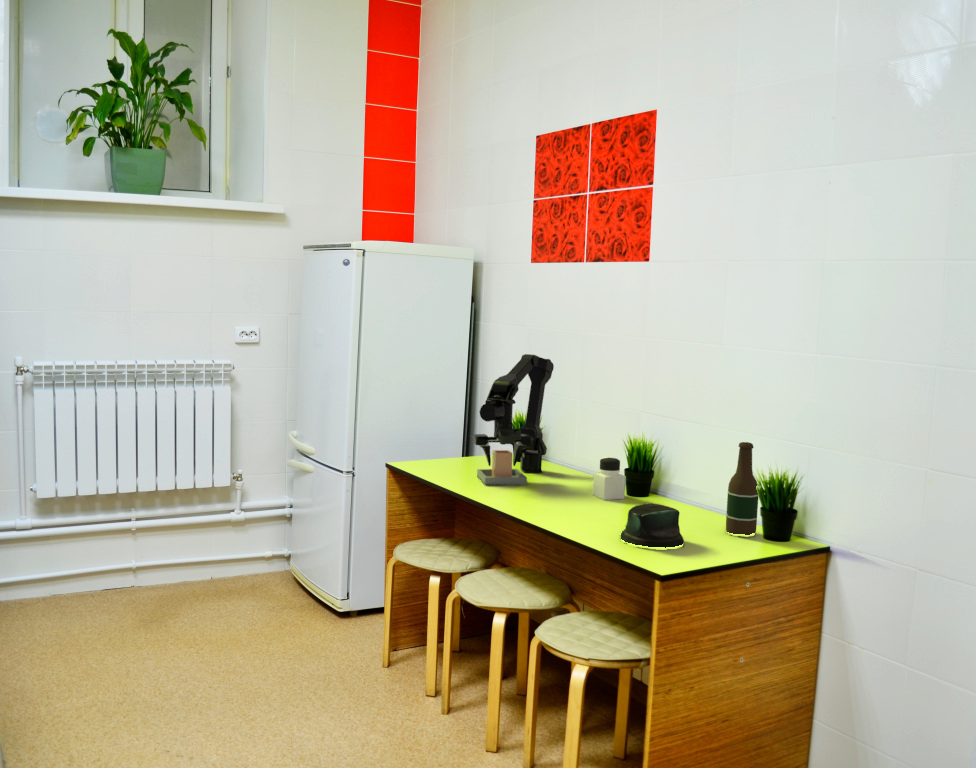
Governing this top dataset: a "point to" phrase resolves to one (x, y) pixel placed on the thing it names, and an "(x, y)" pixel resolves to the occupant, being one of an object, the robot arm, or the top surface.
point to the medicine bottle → (609, 480)
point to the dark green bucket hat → (653, 526)
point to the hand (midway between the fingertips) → (501, 465)
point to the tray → (501, 478)
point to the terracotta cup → (501, 463)
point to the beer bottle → (742, 495)
